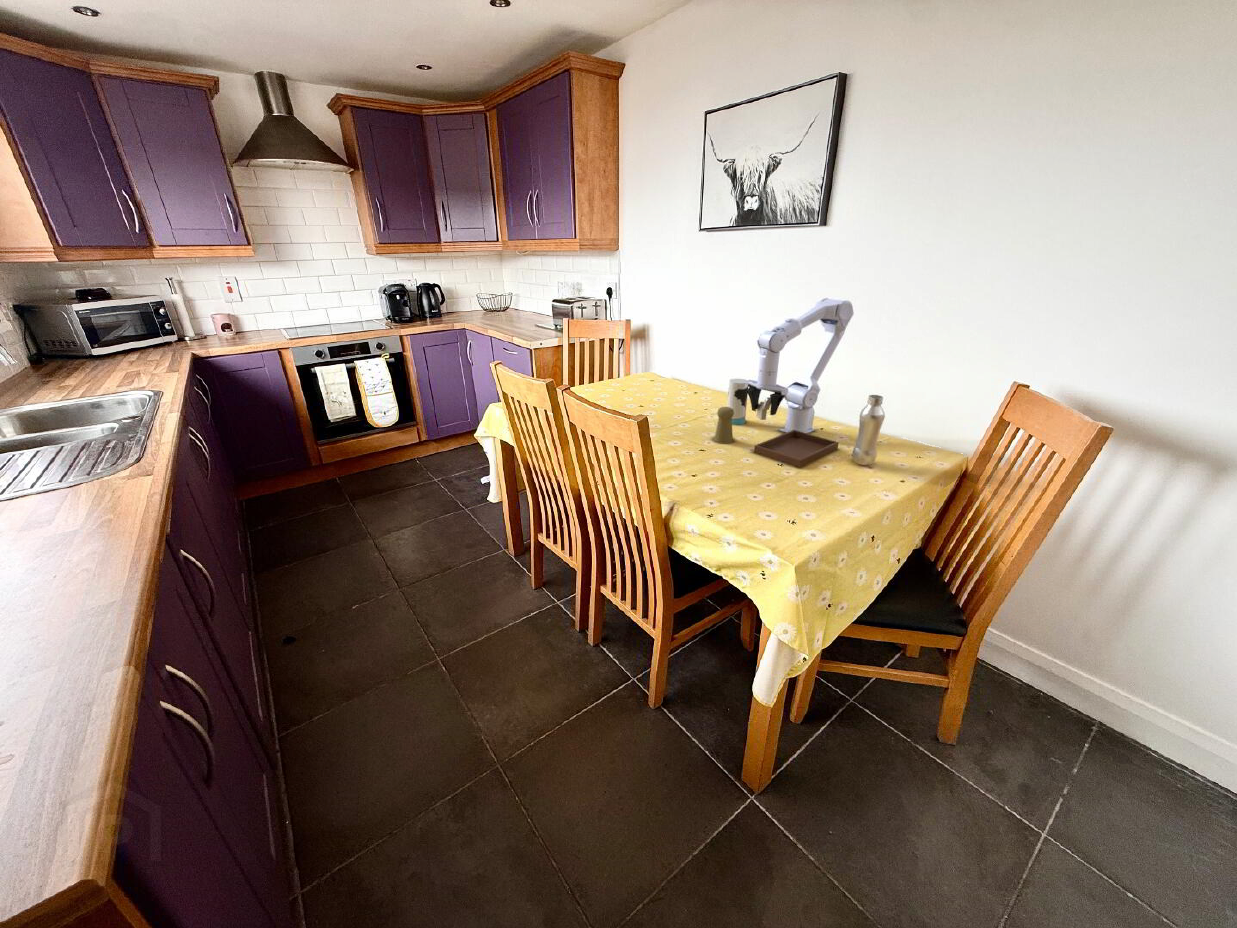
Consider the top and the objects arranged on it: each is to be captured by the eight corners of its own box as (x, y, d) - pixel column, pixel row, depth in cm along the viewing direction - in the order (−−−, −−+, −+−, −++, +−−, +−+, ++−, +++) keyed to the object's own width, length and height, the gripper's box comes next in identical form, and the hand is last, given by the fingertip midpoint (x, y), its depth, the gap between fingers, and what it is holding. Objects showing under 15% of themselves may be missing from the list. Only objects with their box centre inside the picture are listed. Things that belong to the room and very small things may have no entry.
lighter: (756, 416, 166) (758, 392, 163) (761, 415, 166) (764, 392, 163) (764, 422, 159) (767, 398, 156) (769, 422, 160) (772, 398, 156)
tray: (792, 436, 166) (793, 429, 165) (837, 449, 155) (838, 442, 154) (753, 452, 154) (754, 445, 153) (799, 468, 143) (800, 460, 142)
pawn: (731, 437, 166) (734, 405, 162) (733, 443, 161) (736, 410, 156) (713, 436, 167) (715, 404, 163) (714, 443, 161) (717, 410, 157)
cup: (748, 423, 178) (752, 382, 172) (730, 425, 177) (734, 384, 171) (740, 418, 184) (743, 378, 178) (723, 419, 183) (726, 379, 177)
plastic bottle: (873, 460, 147) (887, 394, 139) (876, 469, 141) (890, 400, 133) (849, 457, 149) (861, 392, 141) (851, 466, 143) (864, 398, 135)
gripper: (741, 368, 159) (737, 409, 165) (781, 376, 149) (775, 420, 154) (754, 365, 163) (750, 405, 169) (794, 373, 153) (788, 415, 159)
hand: (763, 412), depth 162 cm, fingers closed on lighter, 6 cm apart
